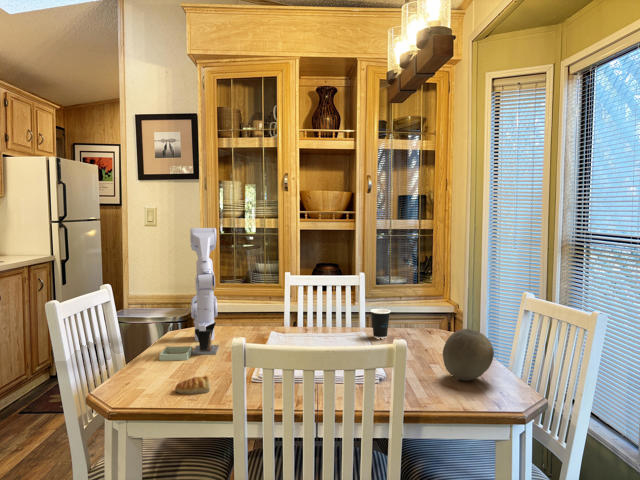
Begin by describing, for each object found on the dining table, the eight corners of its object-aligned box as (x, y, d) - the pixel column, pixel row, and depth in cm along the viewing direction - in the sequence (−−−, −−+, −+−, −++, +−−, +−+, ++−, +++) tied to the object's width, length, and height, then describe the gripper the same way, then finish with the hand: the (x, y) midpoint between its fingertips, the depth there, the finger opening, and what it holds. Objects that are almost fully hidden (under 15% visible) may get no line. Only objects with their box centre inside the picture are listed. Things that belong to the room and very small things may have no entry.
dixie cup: (387, 341, 181) (388, 313, 180) (368, 339, 183) (368, 311, 183) (391, 336, 188) (392, 309, 187) (372, 334, 191) (373, 308, 190)
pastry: (176, 397, 125) (176, 383, 125) (174, 389, 131) (174, 375, 131) (211, 393, 128) (211, 379, 128) (208, 384, 135) (208, 371, 134)
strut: (201, 349, 165) (201, 330, 164) (211, 349, 165) (211, 330, 164) (200, 352, 161) (199, 332, 161) (209, 352, 161) (209, 332, 161)
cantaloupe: (459, 390, 131) (460, 337, 130) (434, 373, 144) (434, 325, 143) (502, 385, 134) (503, 334, 134) (473, 369, 148) (474, 323, 147)
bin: (166, 355, 161) (166, 346, 161) (192, 354, 162) (192, 346, 162) (159, 363, 152) (159, 354, 152) (187, 362, 153) (187, 353, 153)
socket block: (196, 350, 167) (196, 345, 167) (218, 350, 167) (218, 345, 167) (192, 357, 159) (192, 352, 159) (215, 357, 159) (215, 351, 159)
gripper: (197, 304, 169) (197, 341, 170) (189, 312, 155) (190, 352, 155) (217, 304, 170) (217, 340, 170) (211, 312, 155) (211, 352, 156)
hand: (205, 346), depth 163 cm, fingers open, 7 cm apart
